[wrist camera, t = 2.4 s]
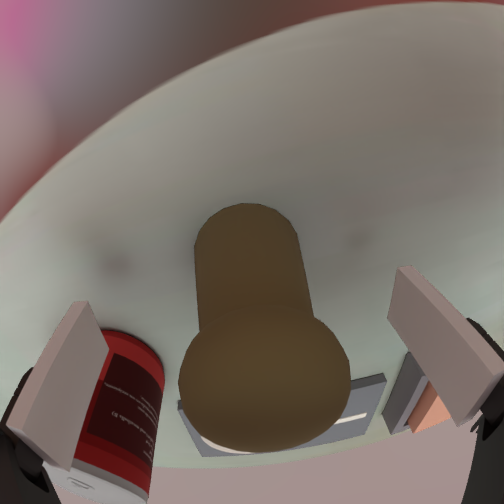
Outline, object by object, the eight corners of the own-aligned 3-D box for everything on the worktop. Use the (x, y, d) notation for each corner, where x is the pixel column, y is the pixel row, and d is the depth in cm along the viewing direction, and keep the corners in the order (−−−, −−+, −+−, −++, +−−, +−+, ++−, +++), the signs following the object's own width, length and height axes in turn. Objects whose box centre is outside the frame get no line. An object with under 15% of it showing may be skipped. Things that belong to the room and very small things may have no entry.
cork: (223, 312, 18) (224, 480, 8) (174, 231, 16) (107, 398, 6) (313, 276, 17) (386, 433, 8) (276, 185, 15) (364, 313, 5)
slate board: (383, 373, 22) (387, 381, 21) (362, 427, 27) (364, 434, 26) (178, 400, 22) (177, 410, 21) (202, 449, 26) (201, 457, 25)
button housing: (480, 328, 22) (496, 345, 19) (449, 389, 26) (460, 406, 24) (407, 353, 22) (421, 376, 19) (382, 414, 26) (390, 434, 23)
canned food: (74, 372, 20) (34, 476, 10) (81, 309, 17) (13, 437, 8) (153, 405, 22) (136, 514, 12) (179, 351, 19) (161, 496, 9)
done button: (473, 352, 21) (488, 371, 19) (450, 394, 24) (461, 412, 21) (423, 371, 21) (437, 395, 18) (403, 412, 24) (413, 433, 21)
